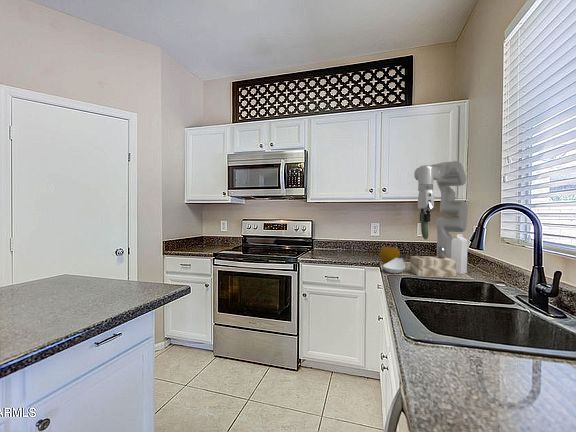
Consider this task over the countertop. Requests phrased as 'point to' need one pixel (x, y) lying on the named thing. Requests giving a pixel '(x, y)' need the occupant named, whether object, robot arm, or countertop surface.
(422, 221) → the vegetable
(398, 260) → the spoon rest
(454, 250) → the milk
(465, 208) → the robot arm
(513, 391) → the countertop surface
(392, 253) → the apple
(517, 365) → the countertop surface
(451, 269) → the beige woven basket
